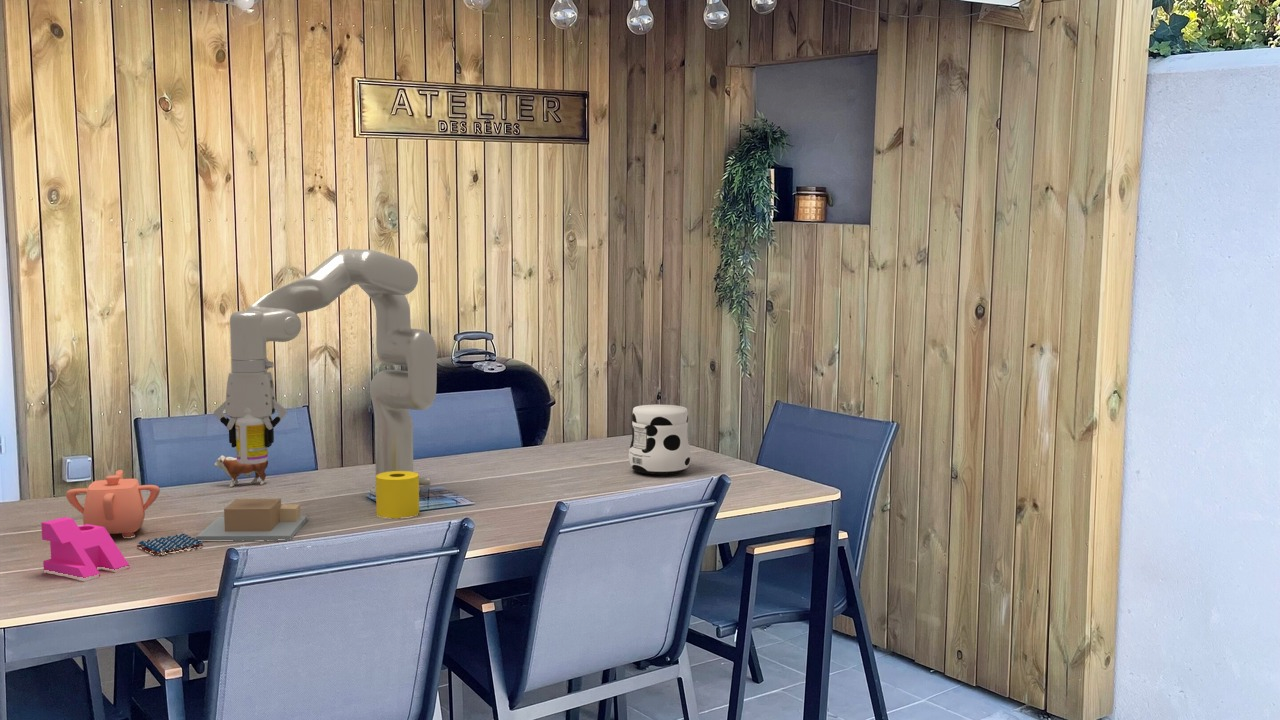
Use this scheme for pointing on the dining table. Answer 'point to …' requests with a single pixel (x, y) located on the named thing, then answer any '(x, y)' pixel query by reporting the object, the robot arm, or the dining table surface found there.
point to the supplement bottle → (250, 439)
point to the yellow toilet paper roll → (397, 494)
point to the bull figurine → (241, 469)
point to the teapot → (114, 503)
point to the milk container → (659, 439)
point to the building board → (251, 535)
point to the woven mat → (169, 544)
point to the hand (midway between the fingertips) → (251, 445)
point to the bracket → (80, 548)
